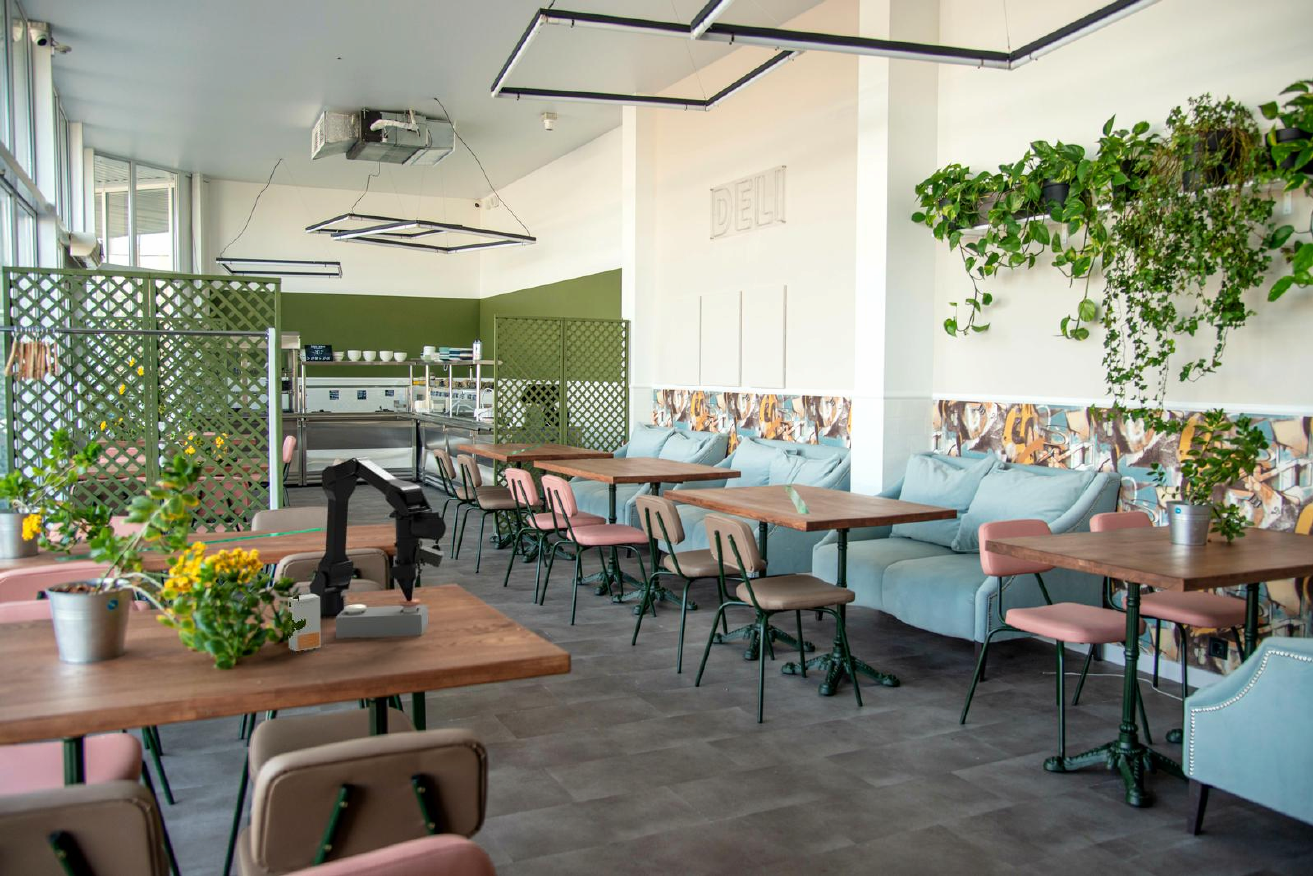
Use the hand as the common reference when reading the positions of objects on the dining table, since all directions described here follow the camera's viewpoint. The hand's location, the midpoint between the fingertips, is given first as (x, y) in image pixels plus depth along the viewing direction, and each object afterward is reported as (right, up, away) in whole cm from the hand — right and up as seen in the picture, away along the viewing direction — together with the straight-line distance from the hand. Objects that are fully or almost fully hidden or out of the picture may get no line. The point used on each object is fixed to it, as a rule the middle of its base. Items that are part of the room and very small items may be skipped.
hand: (409, 600), depth 233 cm
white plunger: (-13, -6, -1) cm, 14 cm away
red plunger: (0, -5, 0) cm, 5 cm away
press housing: (-6, -8, 0) cm, 10 cm away
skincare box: (-20, -9, -15) cm, 26 cm away
